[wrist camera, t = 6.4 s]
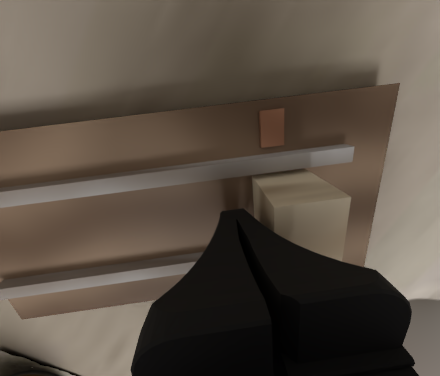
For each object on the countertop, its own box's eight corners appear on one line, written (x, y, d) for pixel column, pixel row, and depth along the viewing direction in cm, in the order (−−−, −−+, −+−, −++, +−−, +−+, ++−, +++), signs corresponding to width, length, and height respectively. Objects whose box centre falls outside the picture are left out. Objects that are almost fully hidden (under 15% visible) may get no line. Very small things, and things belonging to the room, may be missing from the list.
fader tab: (302, 235, 13) (339, 283, 9) (255, 241, 13) (275, 292, 9) (305, 168, 11) (351, 196, 8) (251, 175, 11) (274, 207, 8)
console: (349, 255, 16) (371, 278, 14) (38, 300, 15) (11, 331, 13) (376, 85, 12) (415, 81, 9) (-62, 138, 11) (-127, 146, 9)
